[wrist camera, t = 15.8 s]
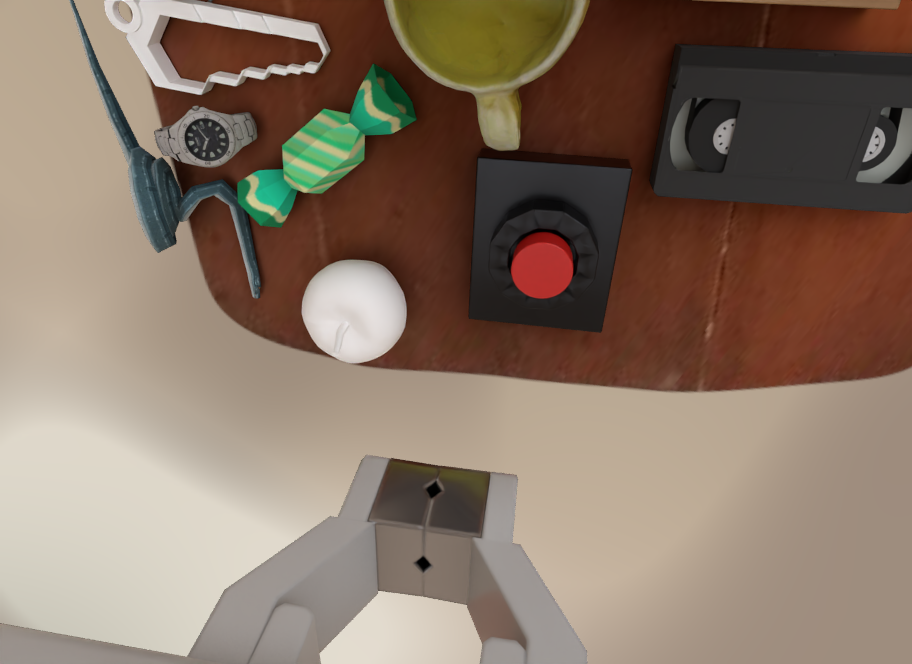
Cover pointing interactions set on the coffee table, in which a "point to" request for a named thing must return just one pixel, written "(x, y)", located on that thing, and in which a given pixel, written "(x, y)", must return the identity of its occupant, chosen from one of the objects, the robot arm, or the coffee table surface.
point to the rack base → (827, 3)
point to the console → (546, 210)
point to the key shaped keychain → (158, 3)
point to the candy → (326, 148)
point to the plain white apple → (354, 310)
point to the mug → (487, 50)
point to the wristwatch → (206, 137)
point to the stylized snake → (164, 181)
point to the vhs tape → (787, 128)
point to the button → (542, 265)
